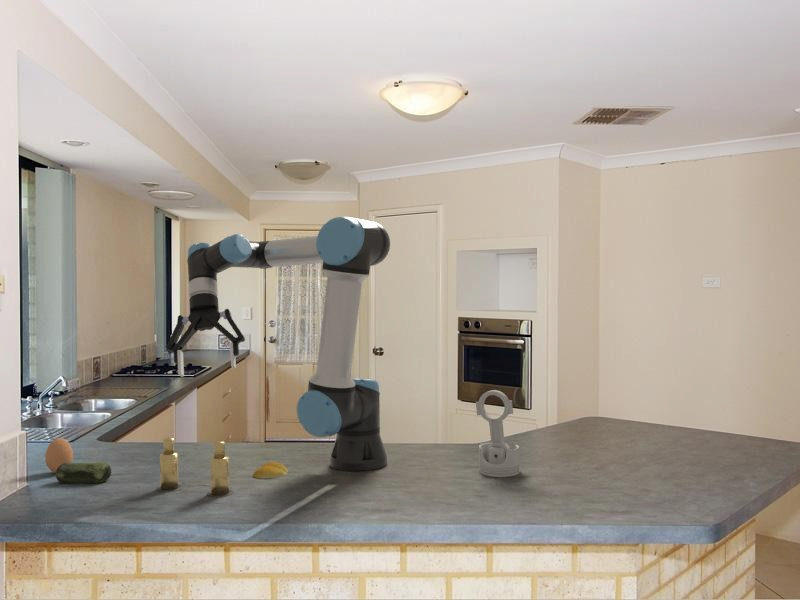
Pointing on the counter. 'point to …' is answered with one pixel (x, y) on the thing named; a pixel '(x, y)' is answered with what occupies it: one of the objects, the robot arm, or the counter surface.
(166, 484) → the brass bottle
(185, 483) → the board
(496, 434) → the engine component
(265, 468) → the bread roll
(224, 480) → the gold bottle
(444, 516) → the counter surface
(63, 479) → the vegetable
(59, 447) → the egg
